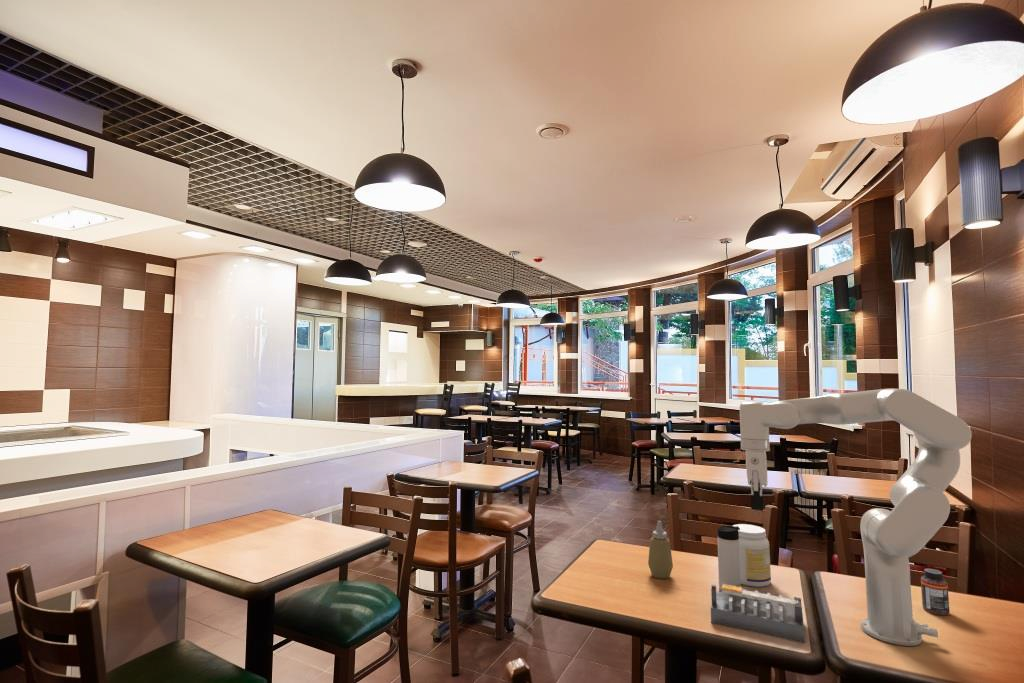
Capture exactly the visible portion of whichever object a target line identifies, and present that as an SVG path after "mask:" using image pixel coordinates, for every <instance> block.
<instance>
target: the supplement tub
mask: <svg viewBox="0 0 1024 683" xmlns="http://www.w3.org/2000/svg"><path fill="white" fill-rule="evenodd" d="M732 526H738V527H739V528H740V530H738V533H739V553H740V581H741V585H744V586H746V587H747V586H748V587H755V588H761V587H767V586H768V585H770V584H771V581H772V575H771V574H772V573H771V556H770V554H771V553H770V541H769V540H768V538H767V534H766V529H765V528H763V527H762V526H758V525H754V524H747V523H738V524H733V525H732Z"/></svg>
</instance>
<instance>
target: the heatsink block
mask: <svg viewBox="0 0 1024 683" xmlns="http://www.w3.org/2000/svg"><path fill="white" fill-rule="evenodd" d="M742 590H747V591H748V589H747V588H744V587H742ZM754 592H757V593H759V590H754ZM710 593H711V595H710V596H711V606H710V623H711V624H715V625H719V626H725V627H728V628H732V629H736V630H737V629H738V630H742V631H746V632H752V633H756V634H761V635H766V636H771V637H774V638H779V639H784V640H788V641H794V642H798V643H802V644H805V643H806V642H805V625H804V614H803V606H802V598H801V597H796V596H794V597H793V599H794V600H797V599H798V600H800V604H801V605H796V604H795V607H791V606H786V605H781V604H776V603H771V602H766V601H761V600H756V599H751V598H746V597H741V596H736V595H731V594H726V593H722V592H720V591H717V585H716V584H711V592H710ZM766 594H768V595H771V592H767V593H766ZM778 597H783V594H778Z"/></svg>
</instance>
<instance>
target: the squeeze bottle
mask: <svg viewBox="0 0 1024 683" xmlns="http://www.w3.org/2000/svg"><path fill="white" fill-rule="evenodd" d="M647 562H648V563H647V564H648V567H649V570H650V573H651V575H652V577H654V578H657V579H669V578H670V577H671V574H672V571H673V567H674V564H673V556H672V547H671V541H670V539H669V538H668V533H667V532H666V531H664V527H663V523H662V521H661V520H657V523H656V528H655V530H653V531H652V537H651V538H650V539H649V548H648V561H647Z"/></svg>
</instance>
